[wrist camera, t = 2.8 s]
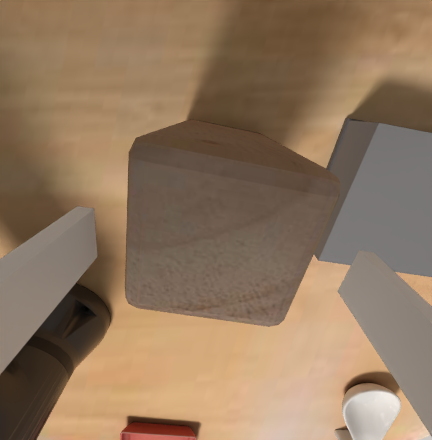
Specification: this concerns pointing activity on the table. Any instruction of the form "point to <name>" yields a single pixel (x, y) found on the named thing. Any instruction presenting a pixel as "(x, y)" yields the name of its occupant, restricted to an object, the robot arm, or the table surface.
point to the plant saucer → (156, 432)
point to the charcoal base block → (381, 197)
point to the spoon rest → (368, 412)
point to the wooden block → (221, 222)
